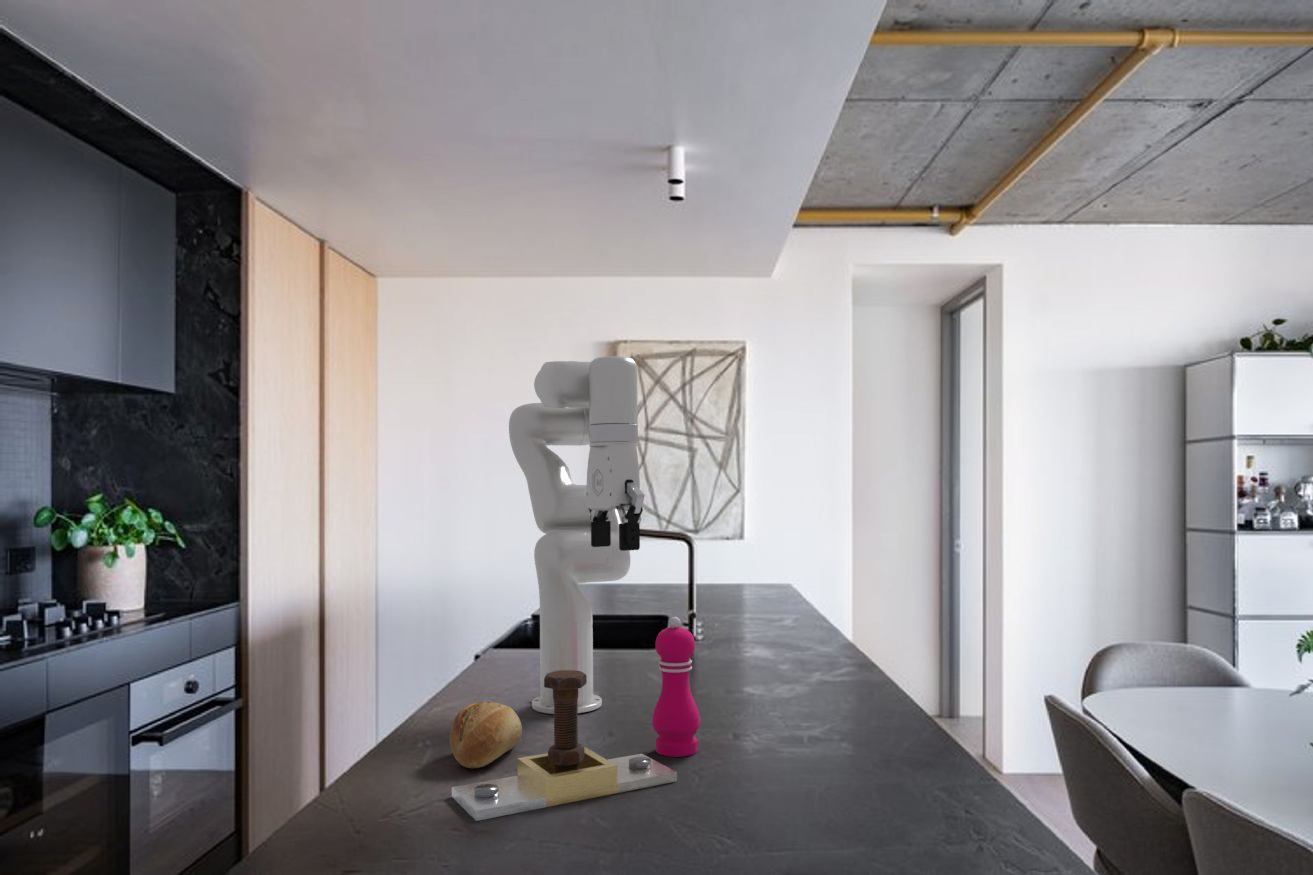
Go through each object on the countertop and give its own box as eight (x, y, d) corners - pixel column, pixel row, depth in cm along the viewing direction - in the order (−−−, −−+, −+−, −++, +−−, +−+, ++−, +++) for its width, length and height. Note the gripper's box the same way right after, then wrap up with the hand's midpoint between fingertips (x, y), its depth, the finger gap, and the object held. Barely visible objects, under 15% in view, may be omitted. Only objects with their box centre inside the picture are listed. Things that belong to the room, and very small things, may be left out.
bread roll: (434, 773, 129) (434, 716, 129) (471, 743, 143) (471, 691, 144) (500, 776, 127) (500, 717, 128) (531, 745, 142) (530, 693, 142)
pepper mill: (706, 746, 140) (704, 614, 141) (692, 760, 133) (690, 621, 134) (661, 742, 142) (659, 612, 143) (645, 755, 135) (644, 619, 136)
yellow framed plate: (451, 796, 119) (451, 769, 119) (641, 761, 132) (641, 737, 133) (476, 820, 110) (476, 791, 110) (677, 781, 124) (676, 754, 124)
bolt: (579, 796, 118) (577, 678, 119) (541, 794, 119) (540, 677, 120) (590, 781, 124) (589, 669, 125) (554, 780, 125) (553, 668, 125)
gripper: (568, 439, 147) (569, 546, 146) (617, 433, 132) (618, 552, 131) (610, 440, 151) (611, 544, 150) (662, 434, 136) (663, 550, 135)
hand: (614, 548), depth 141 cm, fingers open, 9 cm apart
